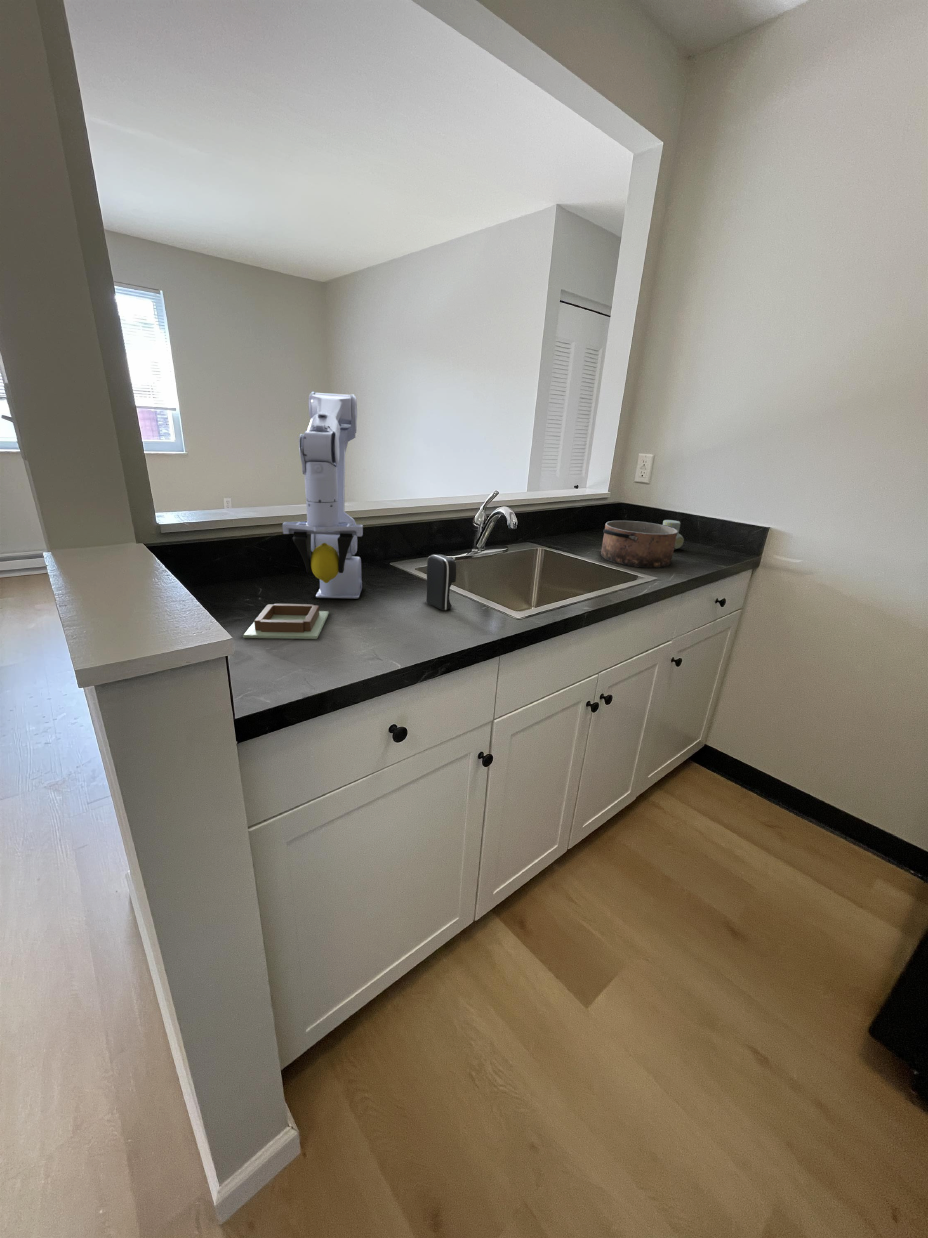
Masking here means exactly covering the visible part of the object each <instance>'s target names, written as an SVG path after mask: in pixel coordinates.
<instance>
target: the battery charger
mask: <svg viewBox="0 0 928 1238" xmlns="http://www.w3.org/2000/svg"><path fill="white" fill-rule="evenodd" d="M426 561H427V562H426V598H425V599H426V600H425V601H426V603H427V604H429V605H430V606H433V607H434V608H436V609H438V610H441V611H447V610H451V609H452V607H453V604H451V601H450V593H451V592H450V589H451V587H452V584H453V583H457V582H456V581H457V563H456V561H455V560H454V559H453V558H451V557H450V556H447V555H444V554H431V555H429V556H428V557H427V560H426Z"/></svg>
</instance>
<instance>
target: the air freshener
mask: <svg viewBox="0 0 928 1238" xmlns="http://www.w3.org/2000/svg"><path fill="white" fill-rule="evenodd" d="M662 525H666V526H671V527H675V528H676V530H677V531H678V532H677V537H676V542H675V547H674V551H676V550H677V549H680V548H681V547H682V546H683V545H684V542H685V538H684V537H683V535H682V534H681V533H679V532H680V527H681V521H679V520H673V519H664V520H663V521H662Z"/></svg>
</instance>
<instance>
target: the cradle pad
mask: <svg viewBox="0 0 928 1238" xmlns="http://www.w3.org/2000/svg"><path fill="white" fill-rule="evenodd" d="M329 615H330V612H329V611H327V610H326V611H324V610H320V605H314V604H309V603H308V604H307V603H274V604H269V603H268V604H267V605H266V606H265V607H264V608H263V609H262V610H261V612H260V613H259V614H258V615H257V616H256V618H255V619H254V621H253V622H252V624H251V625H250V626H249V627H248V628H247V630H246V631H245V632H244V633H243V634H242V637H243V639H286V640H288V639H291V640H292V639H293V640H295V639H298V640H318V638H319V635H320V634H321V632H322V629H323V627H324V625H325V623H326V621H327V618H328V617H329Z"/></svg>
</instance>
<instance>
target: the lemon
mask: <svg viewBox="0 0 928 1238" xmlns="http://www.w3.org/2000/svg"><path fill="white" fill-rule="evenodd" d="M311 569H312V571H311V572H312V574H313V575H314V576H315V578H316V579H318V580H319V581H320V580H322V581H323V582H324V583H328V582H329V581H330V580H331V579H333V578H335V577H336V576H337V574H338V572H339V555H338V553H337V551H336V550H335V549H334V548H333V547H332V546H330V545H327V544H326V543H323V544H322V545H320V546H318V547H316V548H315V549H314V550H313V552H312V551H311Z"/></svg>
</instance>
